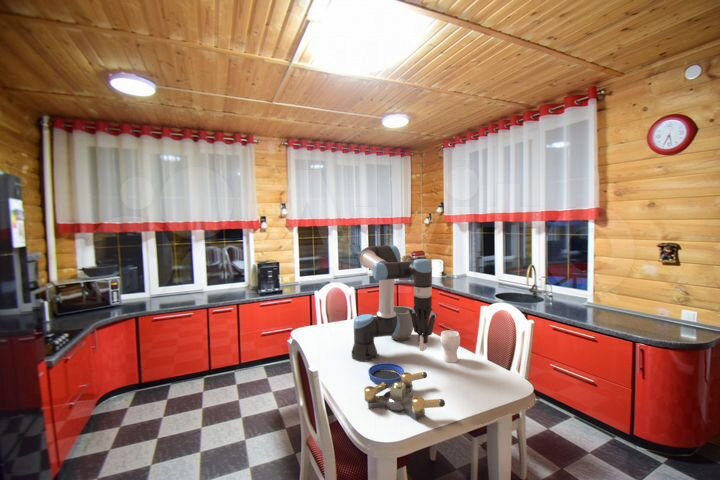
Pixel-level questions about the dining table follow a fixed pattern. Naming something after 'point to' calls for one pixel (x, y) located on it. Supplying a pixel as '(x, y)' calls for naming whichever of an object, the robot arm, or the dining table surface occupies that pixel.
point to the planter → (403, 323)
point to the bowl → (385, 373)
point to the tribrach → (397, 400)
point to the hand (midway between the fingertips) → (422, 349)
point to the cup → (450, 345)
